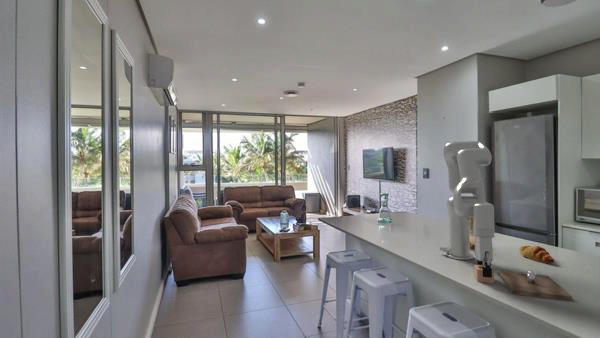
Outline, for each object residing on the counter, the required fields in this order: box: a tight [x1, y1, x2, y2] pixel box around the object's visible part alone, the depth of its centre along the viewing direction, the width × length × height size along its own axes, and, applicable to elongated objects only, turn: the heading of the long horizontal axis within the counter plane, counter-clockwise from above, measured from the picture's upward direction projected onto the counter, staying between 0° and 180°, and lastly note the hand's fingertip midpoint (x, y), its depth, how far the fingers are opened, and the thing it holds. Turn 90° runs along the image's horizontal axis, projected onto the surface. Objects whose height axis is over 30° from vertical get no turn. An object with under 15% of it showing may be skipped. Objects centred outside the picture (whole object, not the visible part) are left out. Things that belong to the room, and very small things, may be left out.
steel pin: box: [527, 270, 536, 284], centre depth 118 cm, size 2×2×5 cm
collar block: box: [473, 264, 495, 284], centre depth 125 cm, size 6×6×5 cm
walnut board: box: [497, 270, 574, 301], centre depth 118 cm, size 18×20×2 cm
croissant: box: [518, 245, 555, 264], centre depth 150 cm, size 21×10×8 cm, turn 1°
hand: (484, 273), depth 125 cm, fingers open, 9 cm apart
